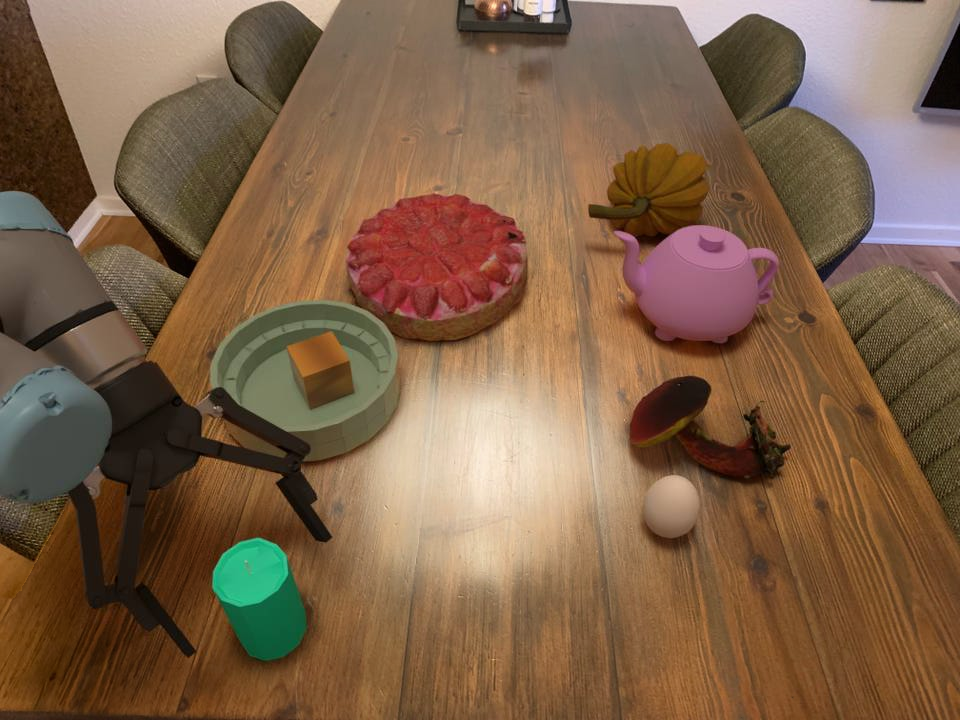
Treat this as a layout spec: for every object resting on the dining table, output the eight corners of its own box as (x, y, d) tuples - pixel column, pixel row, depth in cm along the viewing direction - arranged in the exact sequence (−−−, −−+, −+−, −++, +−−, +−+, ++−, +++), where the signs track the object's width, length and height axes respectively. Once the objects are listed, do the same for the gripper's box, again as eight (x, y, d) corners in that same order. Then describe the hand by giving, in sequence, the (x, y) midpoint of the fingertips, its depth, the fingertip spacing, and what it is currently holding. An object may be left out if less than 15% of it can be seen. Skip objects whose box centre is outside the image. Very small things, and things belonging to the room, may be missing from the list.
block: (309, 410, 81) (302, 377, 77) (293, 379, 85) (286, 346, 81) (354, 393, 83) (349, 360, 79) (337, 363, 87) (331, 330, 83)
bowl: (253, 495, 74) (241, 461, 70) (202, 369, 86) (189, 333, 82) (430, 422, 81) (429, 387, 77) (359, 316, 94) (354, 280, 90)
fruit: (703, 221, 115) (700, 260, 98) (604, 214, 119) (584, 250, 102) (715, 133, 109) (714, 157, 92) (610, 129, 113) (590, 152, 96)
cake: (491, 209, 110) (491, 165, 104) (557, 317, 95) (561, 273, 89) (334, 247, 105) (324, 202, 99) (376, 368, 89) (367, 324, 83)
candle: (275, 674, 61) (246, 612, 53) (224, 637, 63) (189, 572, 55) (321, 617, 65) (300, 550, 56) (272, 584, 67) (245, 515, 59)
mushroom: (711, 482, 86) (634, 387, 86) (803, 440, 79) (719, 334, 78) (686, 543, 77) (599, 436, 77) (788, 502, 69) (691, 382, 69)
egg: (650, 495, 75) (666, 451, 70) (697, 521, 73) (717, 478, 68) (627, 531, 72) (641, 488, 67) (676, 560, 70) (695, 517, 65)
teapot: (602, 354, 90) (621, 268, 80) (593, 277, 101) (608, 193, 91) (776, 361, 90) (815, 276, 80) (747, 284, 101) (779, 200, 91)
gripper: (231, 314, 66) (355, 498, 69) (-58, 478, 52) (116, 695, 56) (254, 296, 59) (389, 500, 63) (-68, 477, 46) (128, 721, 50)
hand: (261, 592), depth 60 cm, fingers open, 13 cm apart
